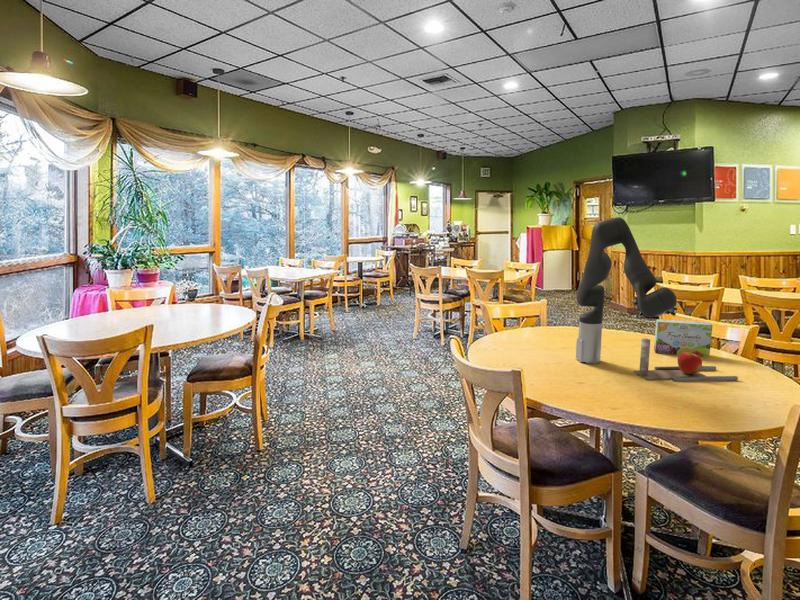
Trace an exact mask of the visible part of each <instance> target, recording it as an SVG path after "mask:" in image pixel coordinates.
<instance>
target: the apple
mask: <svg viewBox="0 0 800 600" xmlns="http://www.w3.org/2000/svg"><path fill="white" fill-rule="evenodd" d="M692 352H693V351H692ZM677 356H678V357H677V366H679V368H680V370H681V371H682V372H683V373H685V374H695V373H697V372H699V373H700V369H701V367H702V366H703V361H702V357H699V356H697V355H695V354H693V353H690V352H684V353H682V354H680V355H677Z"/></svg>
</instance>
